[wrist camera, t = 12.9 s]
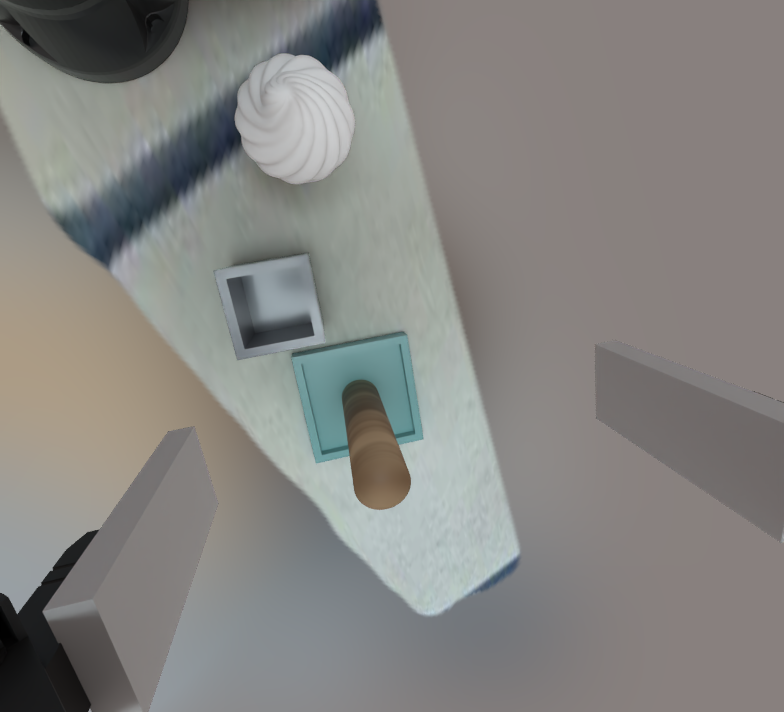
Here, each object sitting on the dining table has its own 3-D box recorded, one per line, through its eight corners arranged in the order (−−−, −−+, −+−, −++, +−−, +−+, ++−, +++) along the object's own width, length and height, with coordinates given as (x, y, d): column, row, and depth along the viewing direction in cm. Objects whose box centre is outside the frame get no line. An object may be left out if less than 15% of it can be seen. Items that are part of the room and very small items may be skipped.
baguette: (338, 383, 48) (348, 465, 30) (375, 376, 48) (406, 452, 31) (345, 417, 49) (359, 515, 32) (381, 410, 49) (414, 502, 32)
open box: (231, 265, 44) (213, 271, 36) (308, 252, 45) (307, 254, 37) (250, 340, 46) (237, 360, 38) (324, 326, 47) (325, 342, 39)
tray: (292, 353, 47) (291, 357, 45) (403, 331, 48) (406, 335, 47) (315, 455, 50) (316, 463, 48) (419, 432, 52) (423, 439, 50)
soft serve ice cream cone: (361, 141, 43) (387, 86, 28) (314, 216, 44) (314, 202, 29) (285, 82, 41) (267, -14, 26) (237, 161, 42) (192, 115, 26)
